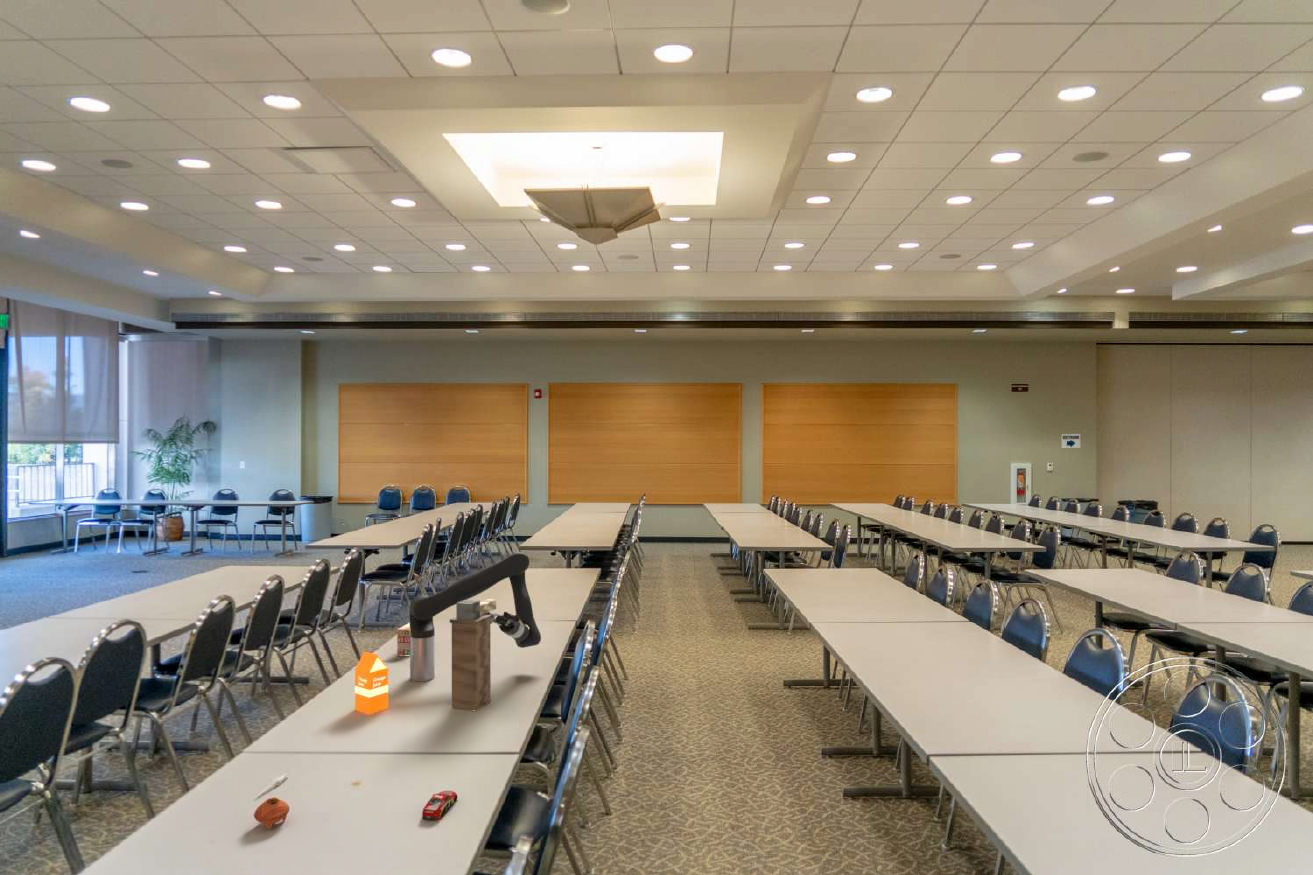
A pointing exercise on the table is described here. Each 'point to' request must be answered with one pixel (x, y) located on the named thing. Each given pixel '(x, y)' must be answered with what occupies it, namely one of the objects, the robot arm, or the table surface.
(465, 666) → the pedestal
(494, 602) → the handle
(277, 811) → the pot
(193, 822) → the table surface
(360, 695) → the orange juice
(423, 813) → the race car
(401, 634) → the red printed box
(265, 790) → the white tapered stick
